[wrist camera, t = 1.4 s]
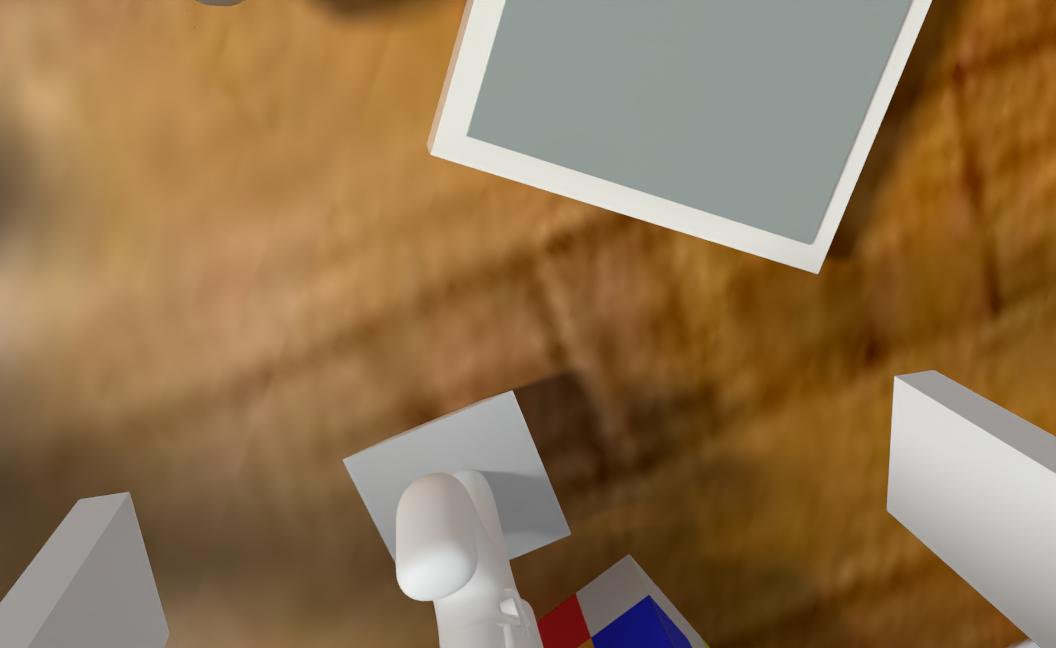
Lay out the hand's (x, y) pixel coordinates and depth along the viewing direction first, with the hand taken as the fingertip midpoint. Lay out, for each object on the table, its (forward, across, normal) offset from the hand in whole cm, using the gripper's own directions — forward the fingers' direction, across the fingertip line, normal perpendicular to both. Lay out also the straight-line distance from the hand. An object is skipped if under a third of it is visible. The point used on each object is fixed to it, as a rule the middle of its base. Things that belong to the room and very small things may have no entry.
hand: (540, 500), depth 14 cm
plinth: (+21, +10, +9) cm, 24 cm away
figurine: (+21, -1, -10) cm, 23 cm away
